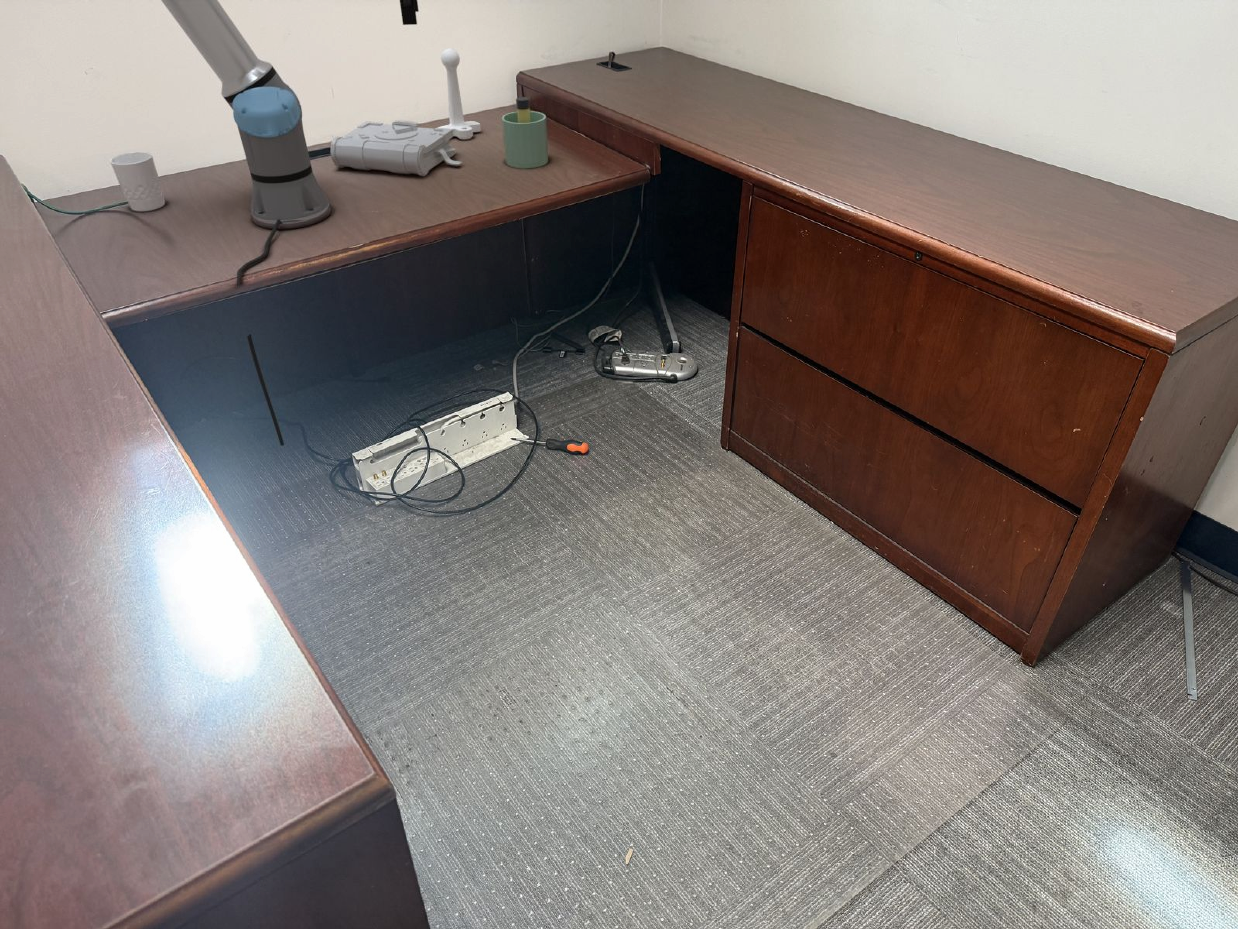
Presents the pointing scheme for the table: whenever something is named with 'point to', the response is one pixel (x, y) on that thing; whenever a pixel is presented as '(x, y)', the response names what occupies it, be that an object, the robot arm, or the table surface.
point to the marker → (523, 109)
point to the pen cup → (525, 140)
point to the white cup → (138, 180)
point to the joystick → (456, 99)
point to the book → (393, 148)
